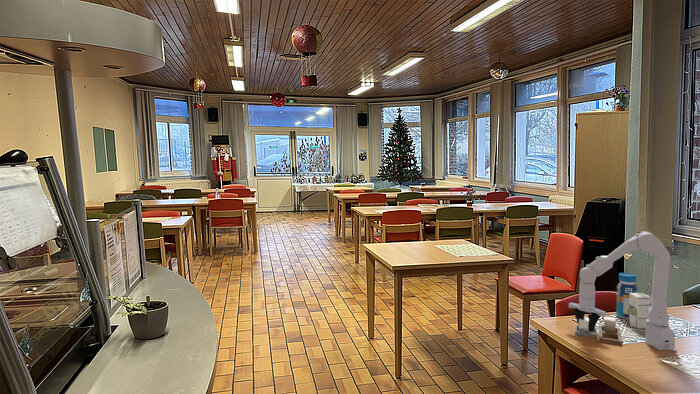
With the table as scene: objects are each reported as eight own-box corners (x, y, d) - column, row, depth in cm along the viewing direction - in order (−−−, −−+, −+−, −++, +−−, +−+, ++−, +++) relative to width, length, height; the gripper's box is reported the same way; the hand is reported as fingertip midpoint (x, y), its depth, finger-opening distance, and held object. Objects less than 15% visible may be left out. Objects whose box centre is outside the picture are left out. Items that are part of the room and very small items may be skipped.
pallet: (598, 330, 183) (598, 325, 183) (619, 333, 179) (619, 328, 179) (599, 343, 169) (599, 338, 169) (621, 347, 165) (621, 341, 165)
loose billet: (584, 331, 181) (584, 317, 180) (593, 334, 177) (594, 319, 177) (578, 333, 179) (578, 318, 178) (588, 336, 175) (588, 321, 175)
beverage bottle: (619, 312, 206) (620, 271, 205) (639, 317, 199) (641, 274, 198) (612, 316, 200) (613, 274, 199) (633, 321, 194) (634, 277, 193)
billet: (603, 330, 180) (604, 316, 180) (615, 332, 178) (615, 318, 178) (604, 333, 177) (604, 319, 176) (615, 335, 175) (615, 321, 174)
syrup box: (650, 329, 183) (651, 296, 182) (636, 329, 183) (637, 296, 182) (641, 325, 189) (642, 292, 188) (628, 325, 189) (628, 292, 188)
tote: (575, 330, 183) (576, 325, 183) (596, 333, 180) (597, 328, 179) (575, 336, 177) (575, 331, 177) (597, 339, 173) (597, 334, 173)
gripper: (564, 294, 181) (564, 325, 182) (599, 302, 169) (598, 336, 170) (574, 291, 185) (574, 322, 186) (609, 300, 172) (608, 333, 173)
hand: (586, 329), depth 178 cm, fingers closed on loose billet, 4 cm apart
